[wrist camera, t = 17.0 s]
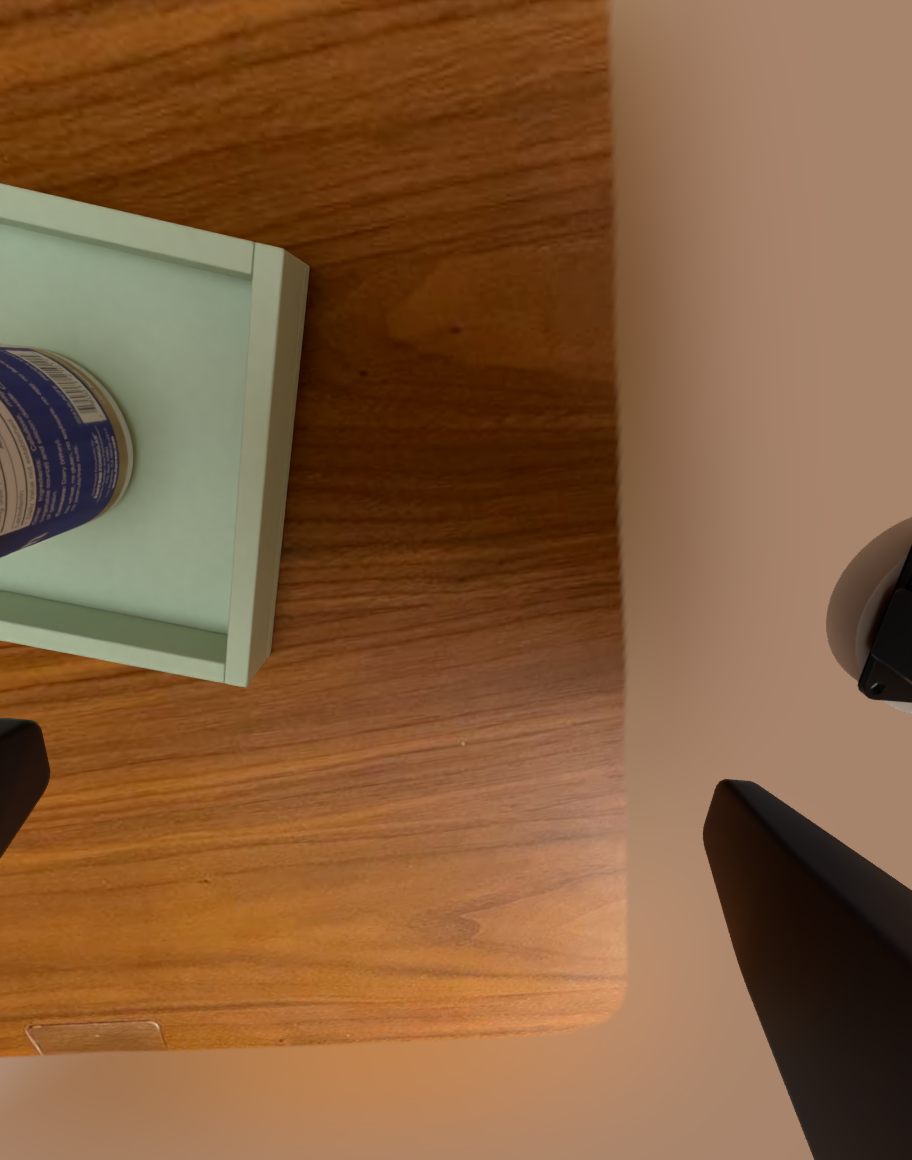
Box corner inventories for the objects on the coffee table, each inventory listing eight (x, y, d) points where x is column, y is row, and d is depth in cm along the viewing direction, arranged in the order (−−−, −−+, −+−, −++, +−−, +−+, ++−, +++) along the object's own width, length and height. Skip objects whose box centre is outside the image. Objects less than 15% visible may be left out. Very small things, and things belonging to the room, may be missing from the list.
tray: (310, 266, 17) (284, 248, 14) (270, 654, 21) (246, 688, 19) (-221, 144, 16) (-340, 104, 14) (-142, 573, 21) (-220, 599, 18)
